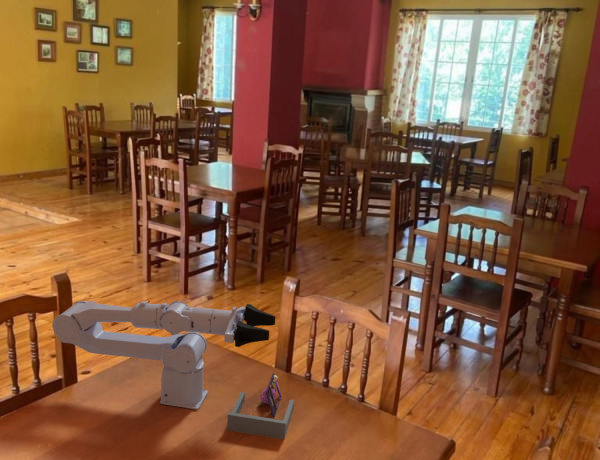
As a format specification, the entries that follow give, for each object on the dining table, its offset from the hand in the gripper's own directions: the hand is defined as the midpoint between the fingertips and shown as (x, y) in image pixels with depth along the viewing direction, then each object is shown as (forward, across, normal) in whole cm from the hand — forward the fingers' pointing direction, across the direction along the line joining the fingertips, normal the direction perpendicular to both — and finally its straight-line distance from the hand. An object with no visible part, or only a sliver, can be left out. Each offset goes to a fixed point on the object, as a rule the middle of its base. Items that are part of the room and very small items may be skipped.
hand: (272, 327), depth 130 cm
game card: (0, +2, +22) cm, 22 cm away
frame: (-1, -4, +21) cm, 22 cm away
